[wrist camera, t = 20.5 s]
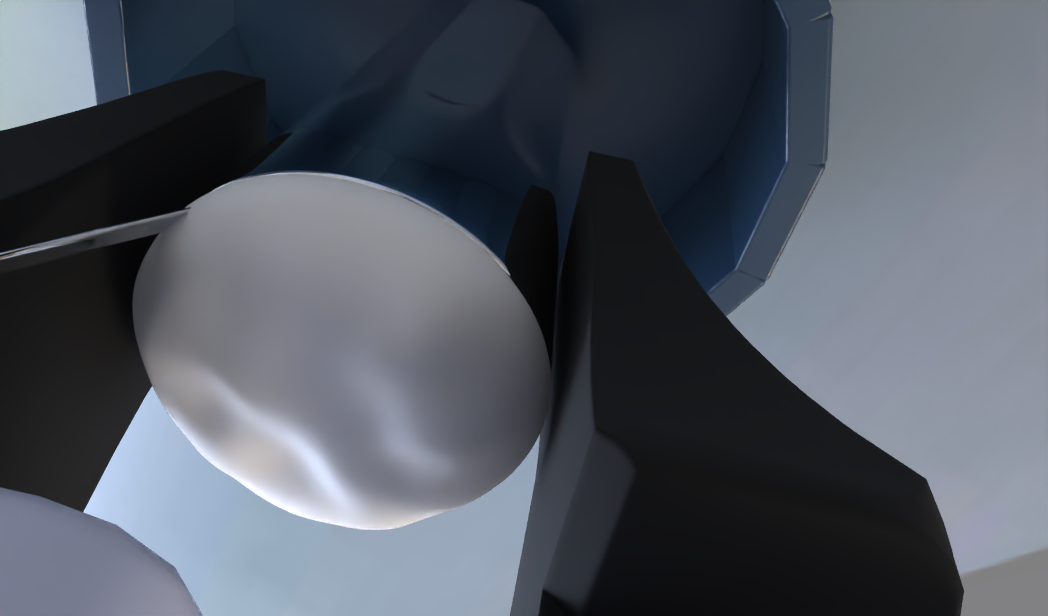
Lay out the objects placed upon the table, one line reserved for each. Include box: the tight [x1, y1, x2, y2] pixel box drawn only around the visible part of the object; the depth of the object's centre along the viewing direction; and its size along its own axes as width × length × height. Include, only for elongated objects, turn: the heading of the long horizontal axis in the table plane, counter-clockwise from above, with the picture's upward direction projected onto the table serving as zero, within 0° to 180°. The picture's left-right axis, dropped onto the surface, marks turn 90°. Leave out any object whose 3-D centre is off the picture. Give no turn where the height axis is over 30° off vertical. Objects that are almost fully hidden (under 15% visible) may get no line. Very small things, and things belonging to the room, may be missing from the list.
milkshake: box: [0, 0, 575, 530], centre depth 11 cm, size 4×5×10 cm
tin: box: [83, 0, 833, 316], centre depth 14 cm, size 11×11×4 cm
